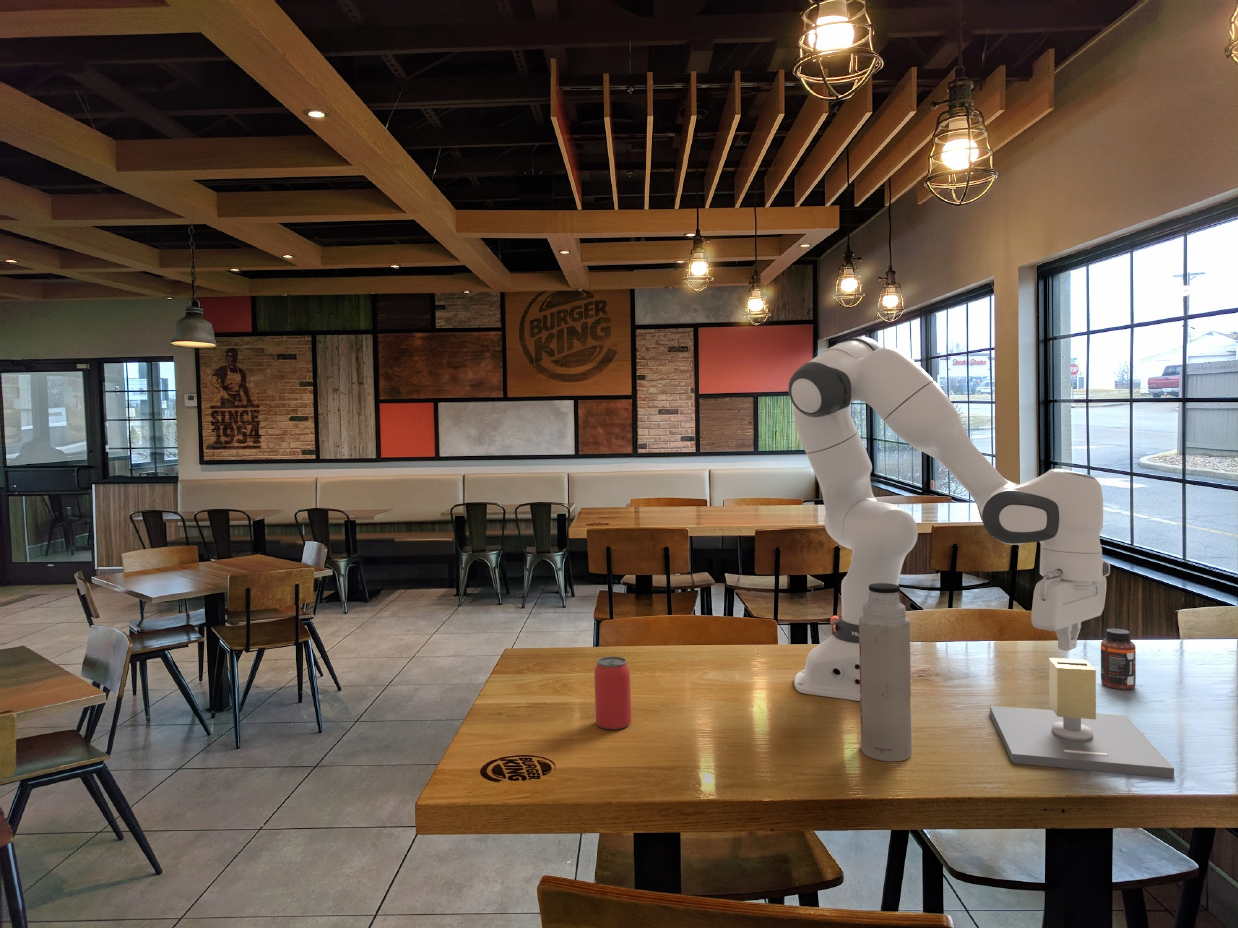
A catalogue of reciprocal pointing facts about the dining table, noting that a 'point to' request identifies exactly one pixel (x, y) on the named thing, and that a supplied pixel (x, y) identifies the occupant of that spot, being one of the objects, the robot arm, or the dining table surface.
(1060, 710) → the brushed gold block
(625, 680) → the beer can
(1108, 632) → the supplement bottle
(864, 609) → the thermos bottle
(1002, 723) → the stud plate
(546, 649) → the dining table surface
